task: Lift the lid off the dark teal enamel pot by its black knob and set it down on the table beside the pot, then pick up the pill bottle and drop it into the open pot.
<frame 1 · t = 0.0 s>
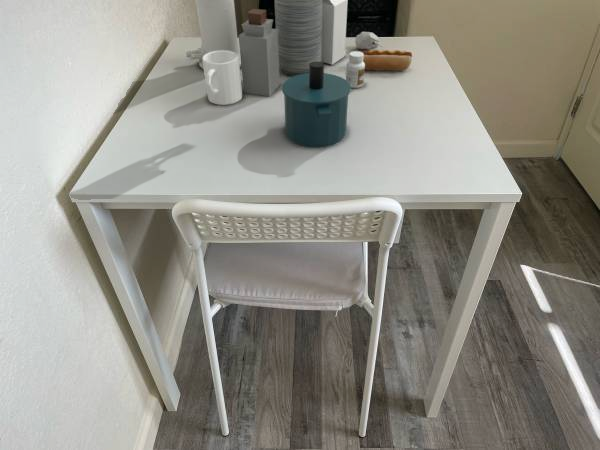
mug: (222, 101, 108), on the table
figurine: (368, 50, 132), on the table
lid: (316, 89, 91), point 9 cm above the table, touching pot
vase: (299, 70, 122), on the table
pill bottle: (354, 85, 114), on the table
perfume bottle: (262, 89, 113), on the table
pot: (315, 131, 97), on the table
food: (383, 69, 121), on the table
milk carton: (327, 59, 127), on the table
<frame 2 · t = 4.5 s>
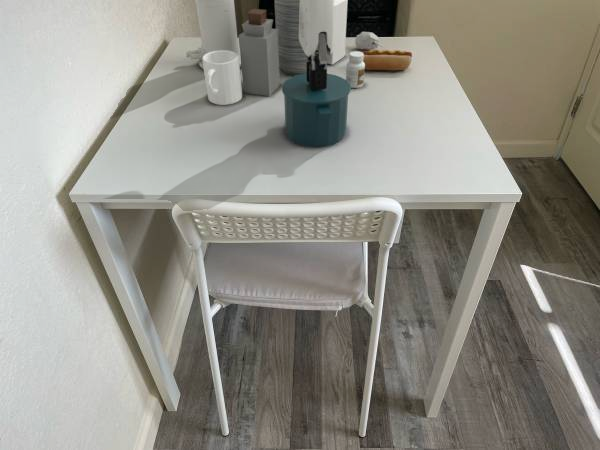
hand: (316, 84, 90), 11 cm above the table, tool pointing down, fingers closed on lid, 2 cm apart
lid: (316, 88, 91), point 10 cm above the table, touching gripper, pot
everything else where it was.
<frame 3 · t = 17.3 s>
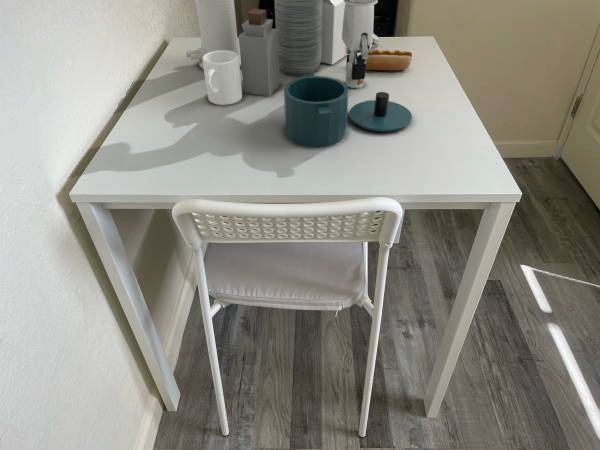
hand: (355, 74, 112), 3 cm above the table, tool pointing down, fingers closed on pill bottle, 4 cm apart
lid: (380, 116, 100), point 1 cm above the table
pill bottle: (354, 85, 114), on the table, touching gripper
everything else where it was.
when the fingers open (10 cm above the table, at t = 24.9 s): pill bottle drops 6 cm, resting on pot.
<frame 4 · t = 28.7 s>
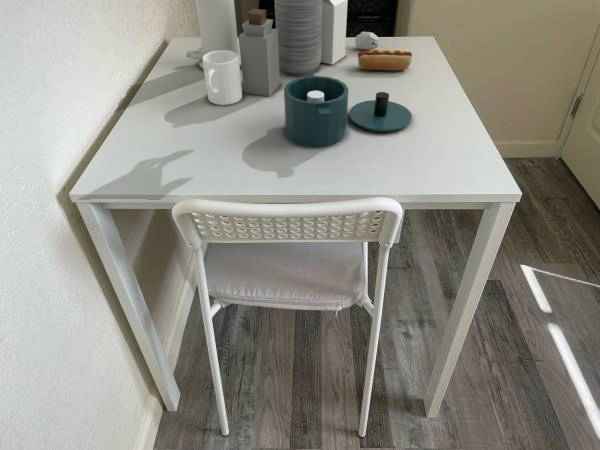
pill bottle: (315, 129, 97), resting on pot
everything else where it was.
at the end: lid inside the target area (0.0 cm from its centre), point 0.6 cm above the table; lid tilted 0°; pill bottle inside the target area in the pot (0.4 cm from its centre), point 0.3 cm above the pot's base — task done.
